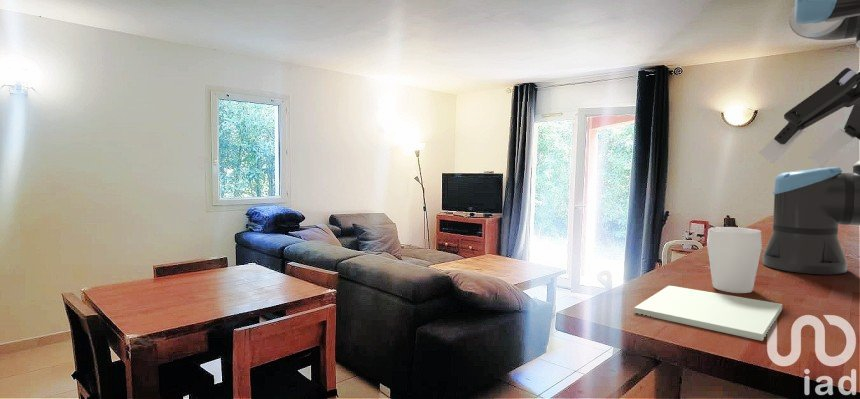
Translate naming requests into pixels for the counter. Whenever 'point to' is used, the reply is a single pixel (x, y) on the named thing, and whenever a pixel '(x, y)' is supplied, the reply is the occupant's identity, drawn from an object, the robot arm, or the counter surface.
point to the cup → (734, 258)
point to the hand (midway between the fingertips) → (791, 160)
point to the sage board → (712, 311)
